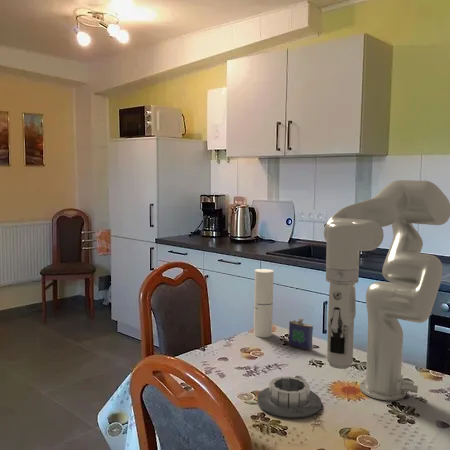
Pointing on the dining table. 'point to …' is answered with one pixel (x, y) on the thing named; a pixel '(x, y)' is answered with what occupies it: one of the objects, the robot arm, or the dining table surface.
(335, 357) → the energy drink can
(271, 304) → the cylindrical container
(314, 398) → the rosette socket
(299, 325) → the flask
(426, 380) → the dining table surface
